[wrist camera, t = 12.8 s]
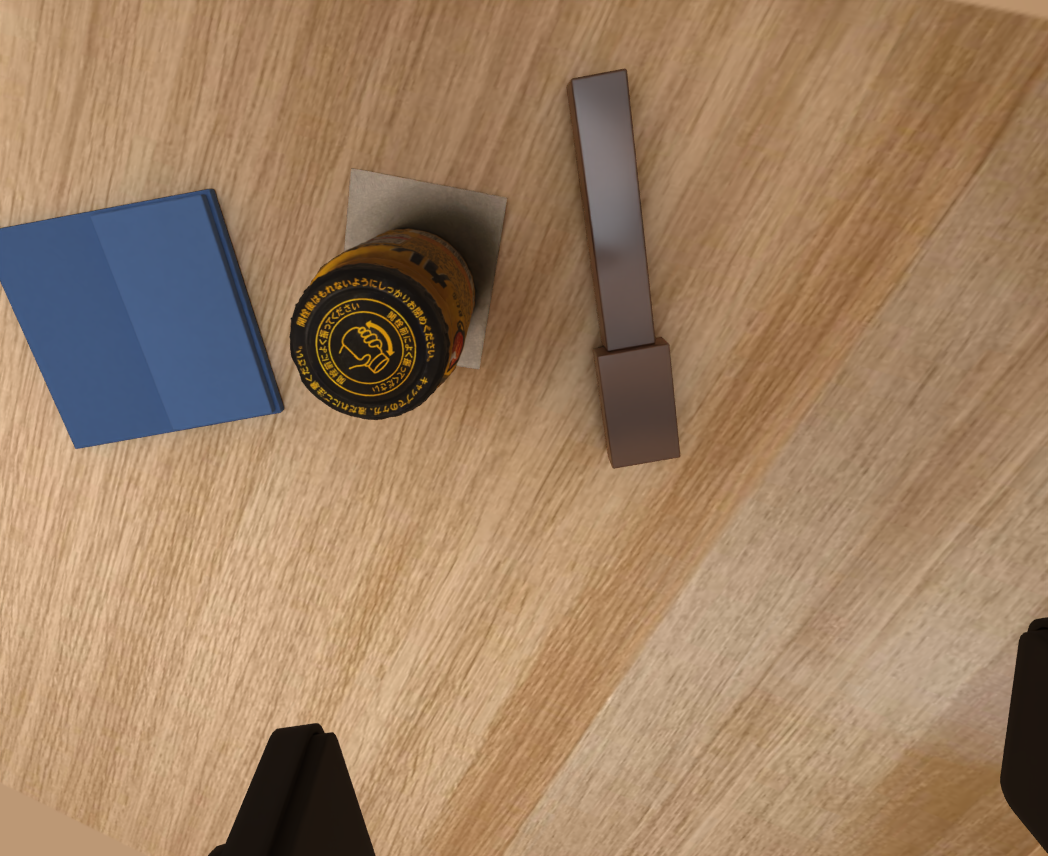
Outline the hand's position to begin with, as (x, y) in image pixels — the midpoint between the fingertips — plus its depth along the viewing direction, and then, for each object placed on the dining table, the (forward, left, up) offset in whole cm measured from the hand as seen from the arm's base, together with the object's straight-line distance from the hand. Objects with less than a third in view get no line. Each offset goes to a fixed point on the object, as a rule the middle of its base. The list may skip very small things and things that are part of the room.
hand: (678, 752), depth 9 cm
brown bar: (-2, +4, -26) cm, 27 cm away
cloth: (-4, -20, -26) cm, 33 cm away
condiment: (-4, -6, -26) cm, 27 cm away
